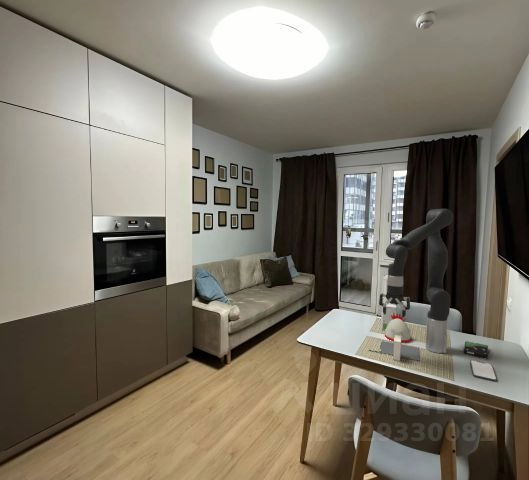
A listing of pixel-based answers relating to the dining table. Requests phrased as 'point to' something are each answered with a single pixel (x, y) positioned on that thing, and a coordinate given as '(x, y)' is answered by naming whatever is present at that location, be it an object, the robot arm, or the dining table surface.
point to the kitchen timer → (397, 329)
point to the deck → (397, 347)
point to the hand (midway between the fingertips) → (393, 315)
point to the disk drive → (476, 349)
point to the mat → (406, 351)
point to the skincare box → (388, 315)
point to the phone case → (483, 371)
